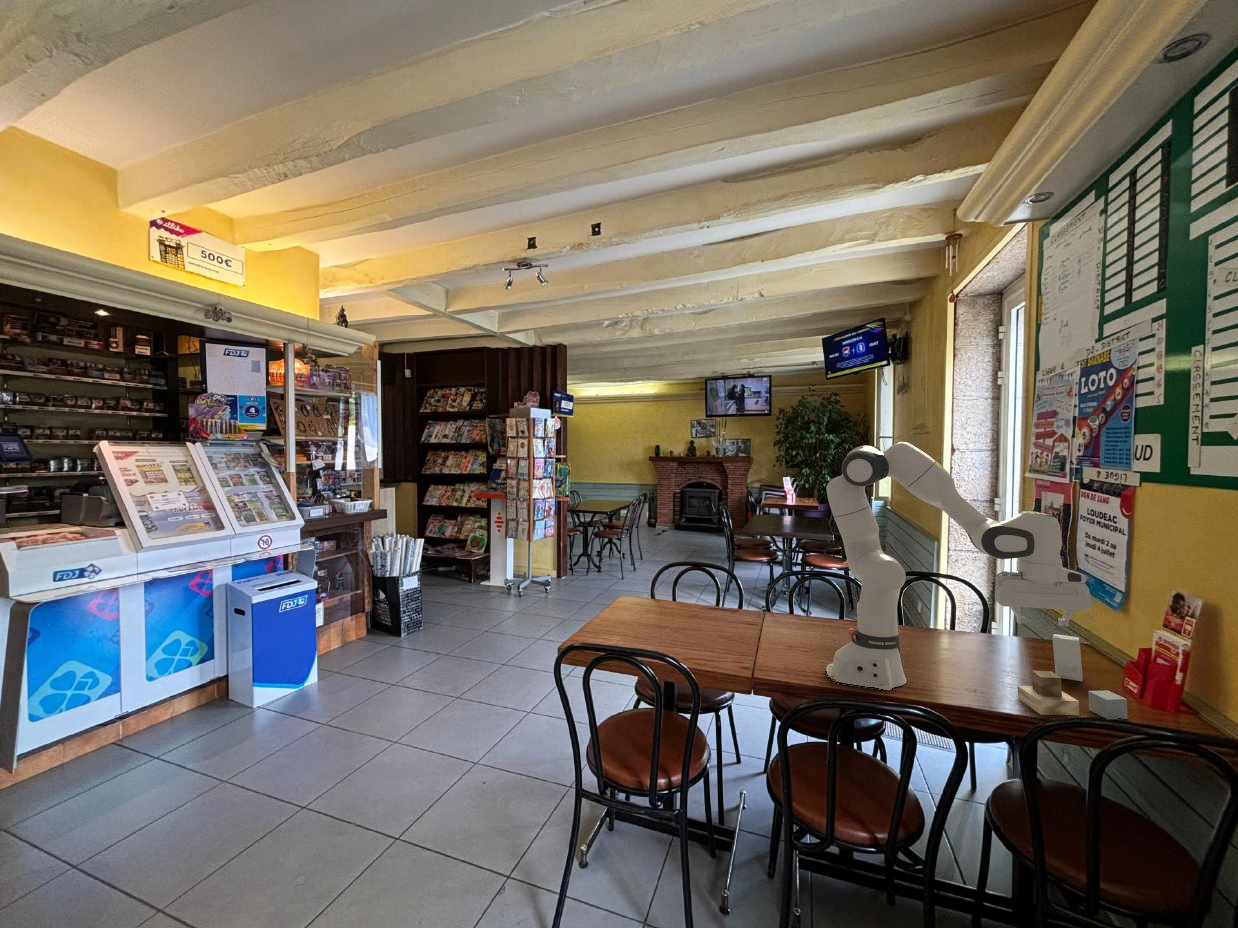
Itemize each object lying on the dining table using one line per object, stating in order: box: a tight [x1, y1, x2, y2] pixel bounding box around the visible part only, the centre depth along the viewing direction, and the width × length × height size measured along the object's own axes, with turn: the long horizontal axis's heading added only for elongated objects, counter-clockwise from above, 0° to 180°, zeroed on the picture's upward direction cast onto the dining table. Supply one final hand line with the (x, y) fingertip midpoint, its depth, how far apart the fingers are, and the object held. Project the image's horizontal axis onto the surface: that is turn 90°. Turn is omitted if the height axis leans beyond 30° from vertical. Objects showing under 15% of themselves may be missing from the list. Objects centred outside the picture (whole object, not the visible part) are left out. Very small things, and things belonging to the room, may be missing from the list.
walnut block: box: [1031, 670, 1063, 697], centre depth 135 cm, size 4×4×5 cm
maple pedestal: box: [1017, 685, 1081, 716], centre depth 135 cm, size 9×9×4 cm
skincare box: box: [1051, 633, 1083, 682], centre depth 152 cm, size 6×4×12 cm
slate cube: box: [1087, 689, 1129, 720], centre depth 129 cm, size 5×5×5 cm
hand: (1042, 624), depth 135 cm, fingers open, 8 cm apart
